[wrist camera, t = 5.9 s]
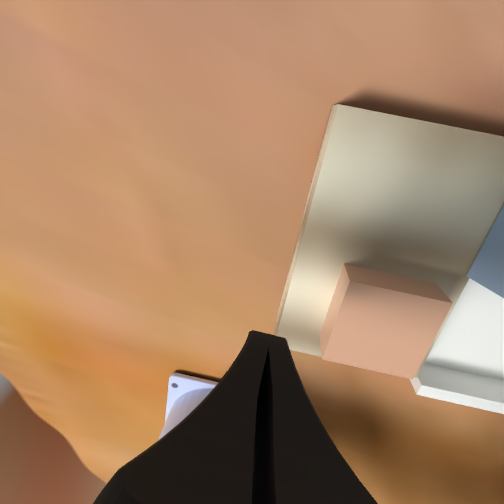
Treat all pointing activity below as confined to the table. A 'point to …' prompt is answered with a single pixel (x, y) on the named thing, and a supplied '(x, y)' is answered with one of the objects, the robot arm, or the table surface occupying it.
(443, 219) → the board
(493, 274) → the slate tile
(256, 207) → the table surface
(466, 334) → the tray
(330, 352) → the terracotta tile
